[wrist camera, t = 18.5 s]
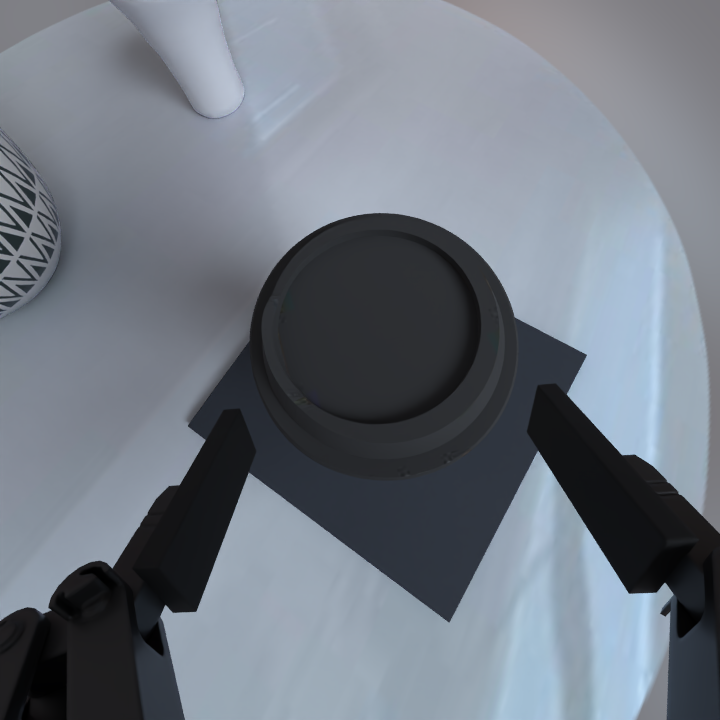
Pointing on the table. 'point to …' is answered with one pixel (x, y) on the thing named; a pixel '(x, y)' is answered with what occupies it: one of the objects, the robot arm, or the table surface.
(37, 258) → the planter
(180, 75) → the cup
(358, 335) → the coffee cup
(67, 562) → the table surface
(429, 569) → the mat
